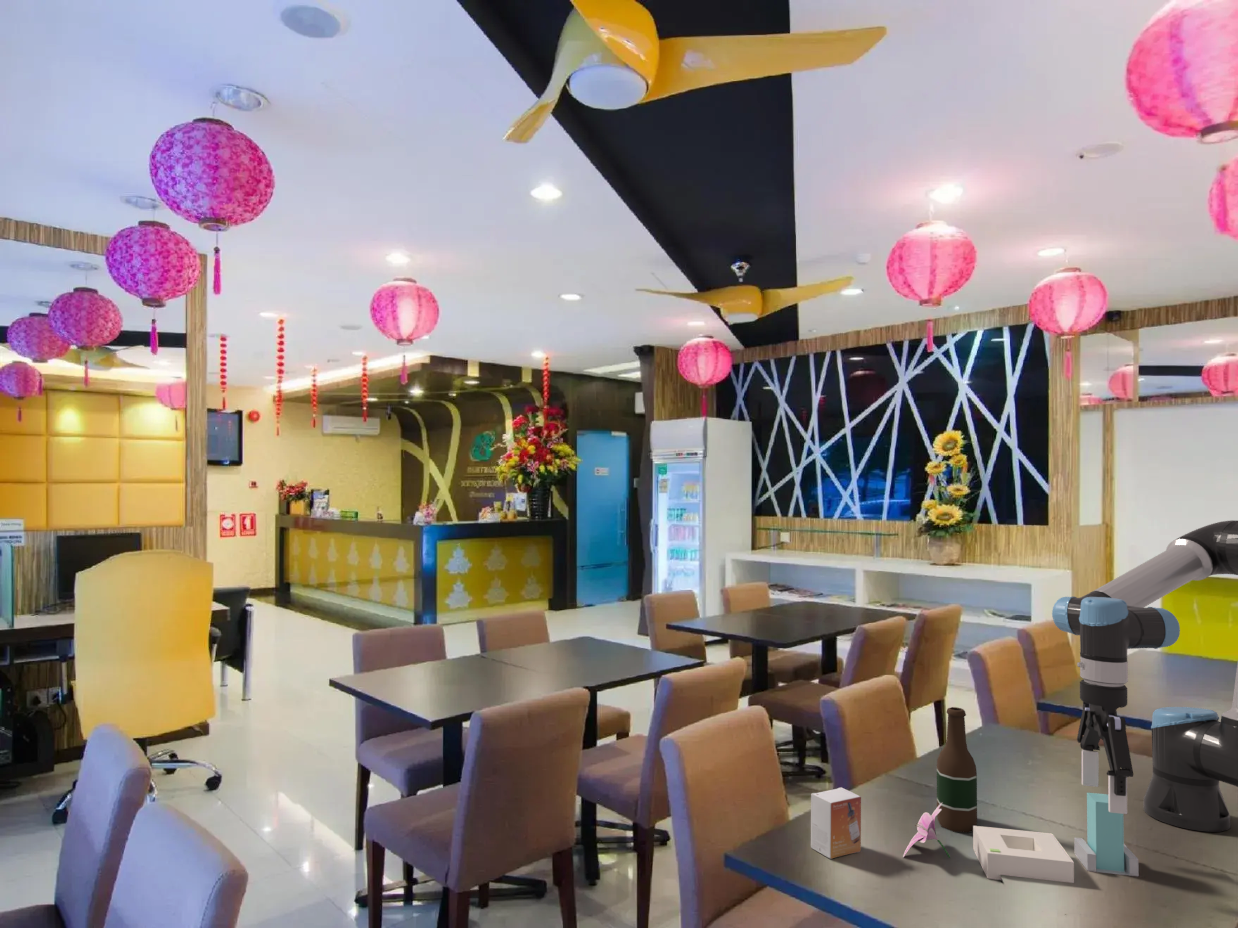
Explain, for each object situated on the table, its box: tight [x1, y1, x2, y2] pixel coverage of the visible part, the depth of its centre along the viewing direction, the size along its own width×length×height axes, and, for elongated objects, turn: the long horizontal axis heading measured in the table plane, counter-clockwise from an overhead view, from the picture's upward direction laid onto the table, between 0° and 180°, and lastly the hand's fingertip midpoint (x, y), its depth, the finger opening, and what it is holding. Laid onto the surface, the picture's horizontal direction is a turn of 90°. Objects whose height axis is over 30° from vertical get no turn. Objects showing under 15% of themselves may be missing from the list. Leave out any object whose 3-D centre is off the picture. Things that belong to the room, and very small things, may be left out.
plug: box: [1086, 792, 1125, 872], centre depth 144 cm, size 4×4×12 cm
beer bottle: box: [936, 706, 978, 834], centre depth 163 cm, size 8×8×24 cm
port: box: [972, 825, 1075, 884], centre depth 144 cm, size 14×12×5 cm
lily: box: [902, 803, 951, 859], centre depth 150 cm, size 12×12×10 cm
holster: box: [1073, 836, 1140, 877], centre depth 144 cm, size 8×7×4 cm
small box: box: [810, 786, 862, 859], centre depth 151 cm, size 8×6×10 cm
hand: (1103, 798), depth 144 cm, fingers open, 13 cm apart
